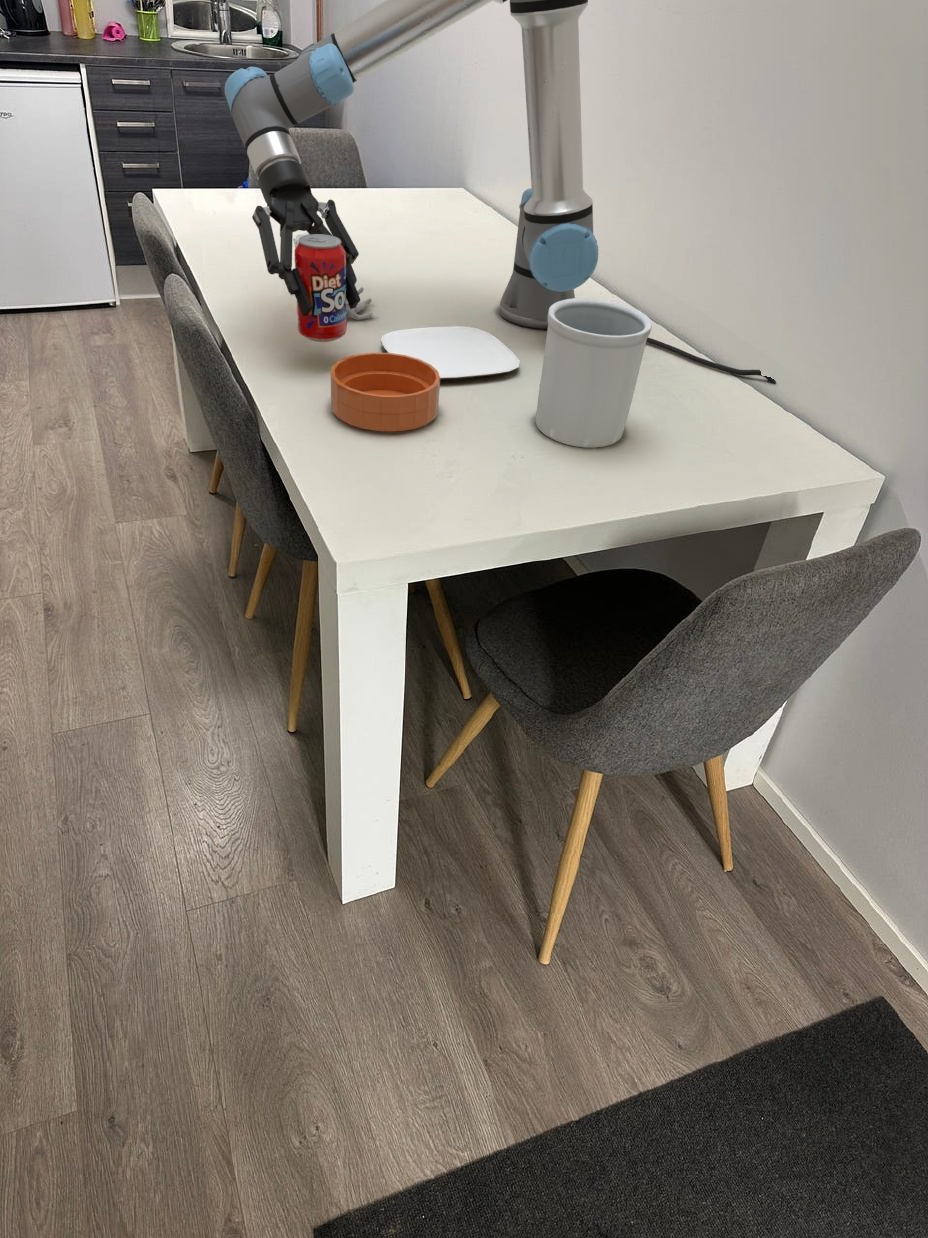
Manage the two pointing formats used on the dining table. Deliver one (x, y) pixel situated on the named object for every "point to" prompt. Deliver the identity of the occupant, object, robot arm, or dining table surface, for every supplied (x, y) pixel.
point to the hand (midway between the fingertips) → (332, 307)
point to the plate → (453, 350)
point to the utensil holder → (590, 370)
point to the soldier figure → (358, 308)
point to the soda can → (322, 286)
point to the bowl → (384, 391)
